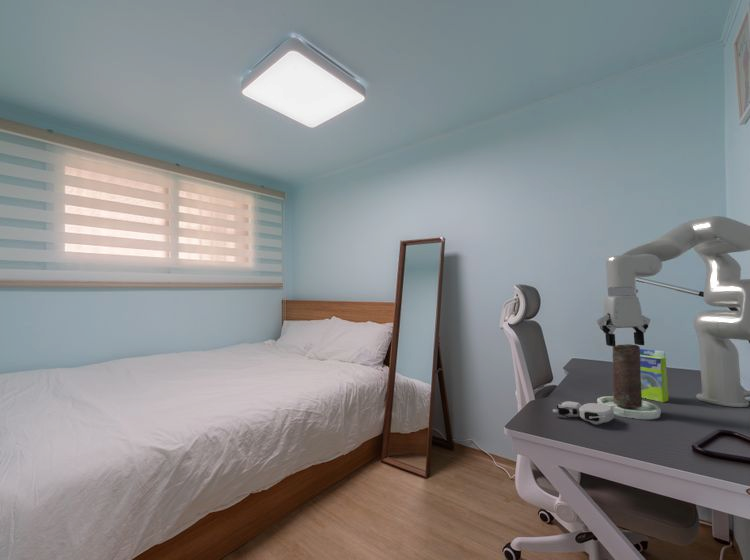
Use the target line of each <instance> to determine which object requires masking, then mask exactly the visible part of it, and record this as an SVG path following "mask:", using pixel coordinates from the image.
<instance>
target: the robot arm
mask: <svg viewBox="0 0 750 560" xmlns="http://www.w3.org/2000/svg"><path fill="white" fill-rule="evenodd" d="M691 249H693V250H694V251H695V252H696V254H698V256H699V257H700V258H701V260H702V261H703V262H704V265H705V267H706V273H705V274H706V275H705V280H704V288H703V301H704V302H705V303H706V304H707V305H708V306H711V307H715V308H740V310H725V309H724V310H723V309H718V310H717V309H711V310H710V309H709V310H702V311H700V312H698V313H697V314H696V315H695V316H694V318H693V327H694V330H695V334H696V337H697V341H698V348H699V350H698V352H699V362H700V363H699V364H700V377H701V378H700V381H701V383H700V384H701V392H700V393H697V394H696V395H695V396H696V397H695V398H696V399H697V400H699V401H701V402H703V403H704V402H705V403H708V404H713V405H718V406H724V407H732V408H746V407H749V406H750V402H749V401H748V400H746V399H745V398H748V397H750V390H743V389H742V386H741V371H740V358H739V357H740V355H739V351H738V348H737V347H736V345H735V344H734V343H733V341H732V340H738V341H739V340H740V341H750V278H744V279H743V278H742V279H741V274H742V273H741V271H742V268H741V265H740V263H739V261H737V260H736V259H735V258H734V257H733V256H732V255H730V254H731V253H739V252H740V253H741V252H747V251H750V225H749V224H747V223H744V222H741V221H738V220H736V219H732V218H729V217H726V216H721V215H713V216H712V215H711V216H708V217H702V218H697V219H693V220H688V221H685V222H683V223H681V224H679V225H677V226H676V227H674V228H672V229H671V230H669V231H668V232H666V233H664V234H663V235H662V236H660V237H659V236H658V237H657V238H655V239H653V240H650V241H648V242H645V243H643V244H641V245H638V246H636V247H633V248H631V249H629V250H627V251H625V252H623V253H622V254H619V255H612V256H608V257H607V258H606V259H605V268H606V282H607V283H606V284H607V297H605V300H604V304H603V316H602V317H600V318H599V319H596V323H597V324H598V326H599V328H600V330H601V331H602V332H603V334H605V342H606V346H608V347H613V346H615V345H616V335H615V331H616V329H621V328H622V329H625V328H632V330H634V332H633V341H634V342H633V343H634V345H637V346H645V335H644V334H646V332H647V330H648V328H649V325H650V322H651V319H650V318H649V317H647V316H645V315H643V314H642V313H643V312H642V307H641V303H640V300H639V297H638V296H637V294H638V293H639V290H638V288H637V285H636V284H637V283H636V278H648V277H653V276H656V275H658V274H659V273H660V272H661V270H662V268H663V263H664V262H666V261H670V260H674V259H676V258H677V259H678V257H680V256H682V255H683V254H684V253H687V252H688V251H689V250H691Z"/></svg>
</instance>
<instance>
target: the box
mask: <svg viewBox="0 0 750 560" xmlns="http://www.w3.org/2000/svg"><path fill="white" fill-rule="evenodd" d="M645 352H649V353H645ZM651 353H652V354H651ZM640 373H641V393H642V399H645V398H646V399H645V400H649V401H655V402H658V403H659V402H660V403H665V402H668V401H669V391H668V389H669V388H668V374H667V359H666V351H664V350H657V349H655V350H654V349H644V348H640Z"/></svg>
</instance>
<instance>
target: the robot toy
mask: <svg viewBox="0 0 750 560" xmlns="http://www.w3.org/2000/svg"><path fill="white" fill-rule="evenodd" d="M612 407H615V406H608V405H605V404H598V403H595V402H590V403H589V402H587V403H585V404H581V403H580V402H576V401H570V400H567V401H564V402H560V403H558V404H557V405H556V408H553V409H552V413H553V414H554V413H556V414H558V415H562V416H563V415H564V416H565V417H567V416H568V418H573V417H575V418H579V417H580V418H581V419H582V420H583V421H586V422H589V423H591V424H592V425H595V426H599V425H601V424H603V423H604V424H605V423H608V422H610V421H612V420H613V419H615V415H614V412H613V408H612Z"/></svg>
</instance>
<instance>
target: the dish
mask: <svg viewBox="0 0 750 560" xmlns="http://www.w3.org/2000/svg"><path fill="white" fill-rule="evenodd" d="M596 402H597V404H605V405H608V406H615V407H612V408H613V412H614V416H616V417H620V418H621V417H622V418H626V417H627V419H632V418H634V420H644V421H646V420H649V421H650V420H657V419H659V418H661V413H662V409H661V408H660V406H658V405H657V404H655V403H652V402H649V401H647V400H642V406H641V407H639V408H632V407H631V408H623V407H620V406H619V405H618V404H615V403H614V400H613V395H612V396H611V395H610V396H609V395H608V396H600V397H597V399H596Z"/></svg>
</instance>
